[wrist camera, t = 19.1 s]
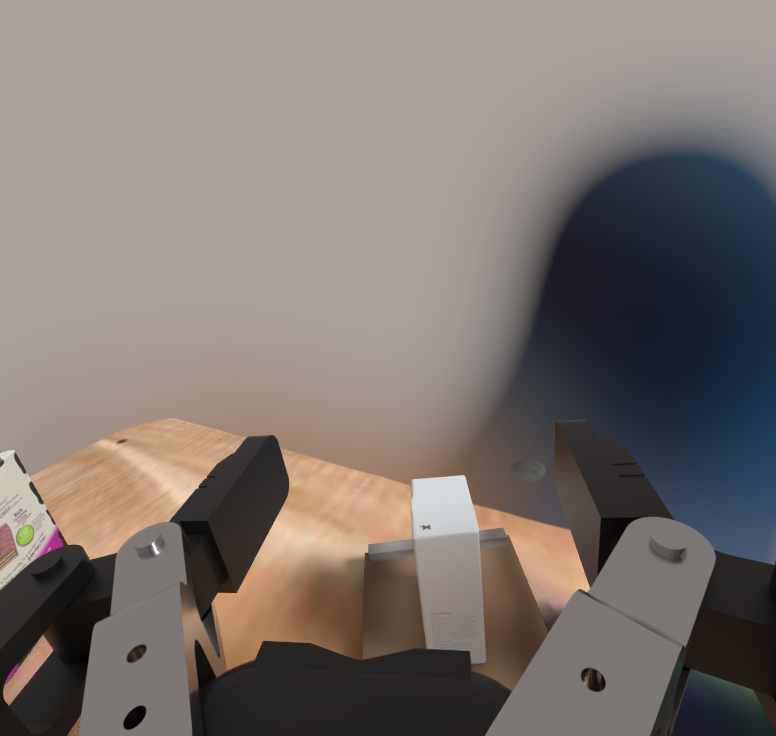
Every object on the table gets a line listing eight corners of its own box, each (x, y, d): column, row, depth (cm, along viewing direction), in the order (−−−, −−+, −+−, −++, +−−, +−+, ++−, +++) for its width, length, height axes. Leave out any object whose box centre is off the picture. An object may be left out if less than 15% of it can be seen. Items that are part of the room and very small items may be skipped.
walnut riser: (509, 550, 41) (508, 527, 40) (586, 749, 26) (589, 720, 25) (367, 568, 41) (363, 545, 40) (364, 775, 26) (357, 747, 25)
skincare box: (488, 665, 29) (480, 534, 25) (428, 668, 30) (410, 539, 25) (474, 590, 35) (466, 472, 31) (423, 594, 35) (408, 477, 31)
